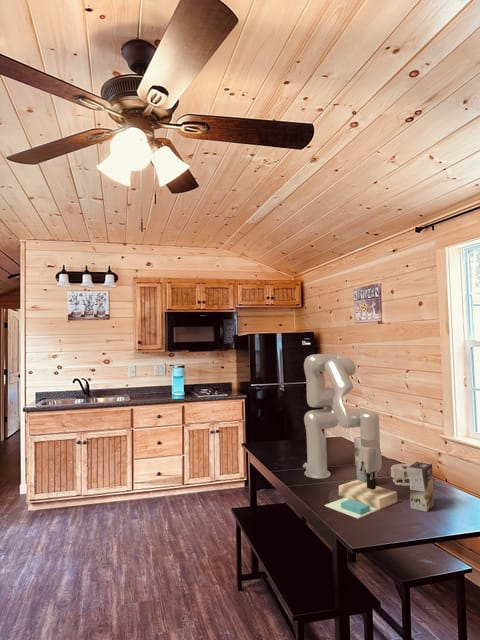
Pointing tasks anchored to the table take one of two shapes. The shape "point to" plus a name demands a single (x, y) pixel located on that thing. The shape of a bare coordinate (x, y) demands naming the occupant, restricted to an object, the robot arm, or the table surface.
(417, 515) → the table surface
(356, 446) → the syrup box
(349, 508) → the teal flat block
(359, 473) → the cup
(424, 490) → the coffee box
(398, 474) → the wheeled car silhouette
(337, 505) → the mat
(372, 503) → the deck
